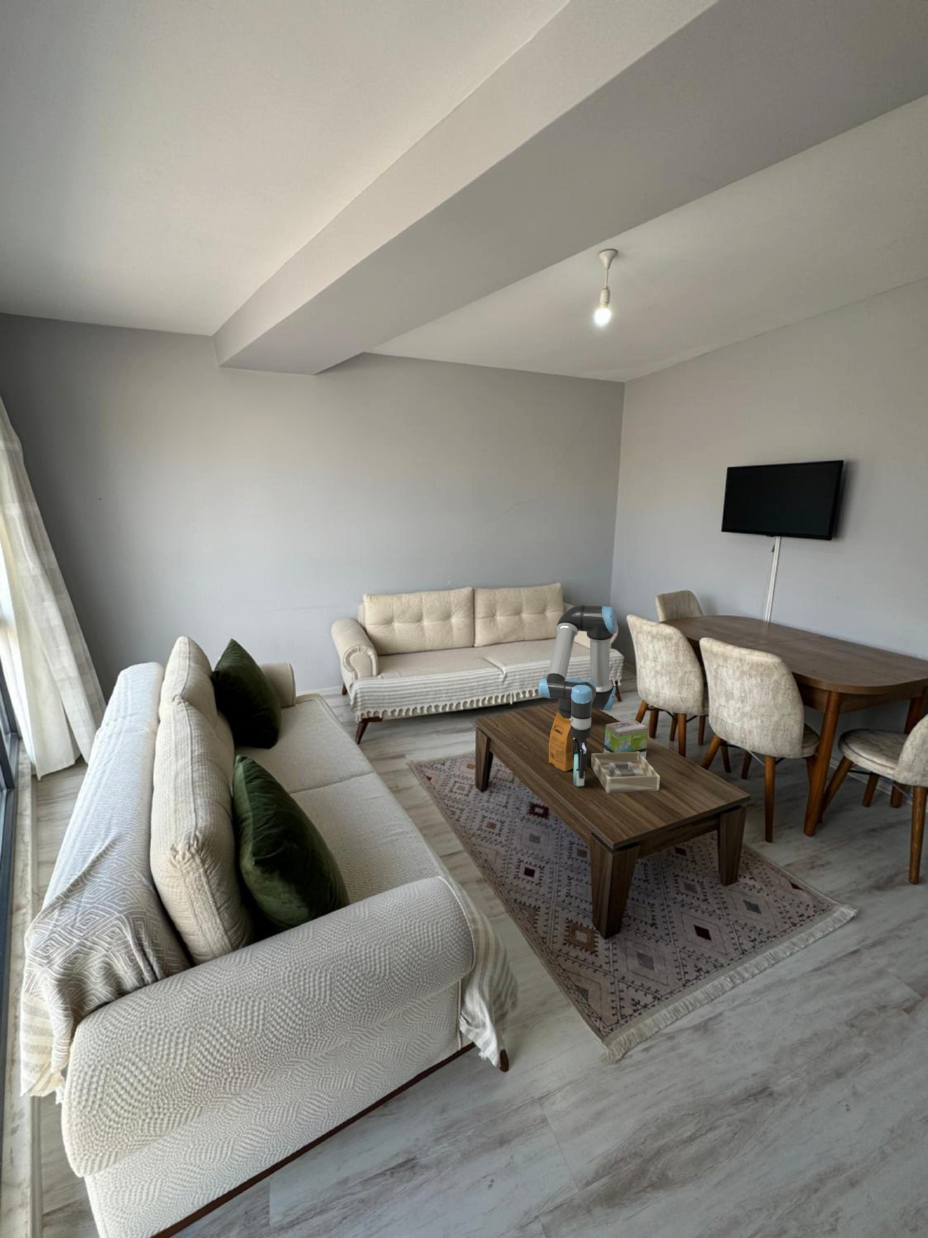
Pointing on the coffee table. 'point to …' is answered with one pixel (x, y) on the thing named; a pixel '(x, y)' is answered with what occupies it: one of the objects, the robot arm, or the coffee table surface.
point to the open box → (624, 772)
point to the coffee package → (561, 744)
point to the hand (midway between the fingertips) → (578, 781)
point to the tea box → (626, 737)
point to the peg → (575, 770)
